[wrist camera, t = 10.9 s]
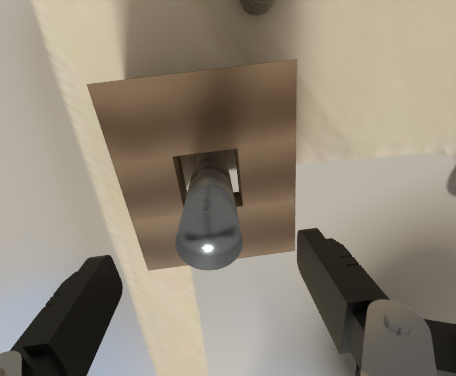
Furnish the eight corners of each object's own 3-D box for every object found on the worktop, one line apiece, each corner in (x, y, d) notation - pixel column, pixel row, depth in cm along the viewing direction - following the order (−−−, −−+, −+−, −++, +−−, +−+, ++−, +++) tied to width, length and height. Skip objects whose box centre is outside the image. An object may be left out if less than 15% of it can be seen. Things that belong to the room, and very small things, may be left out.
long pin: (194, 146, 24) (168, 219, 10) (224, 142, 24) (239, 210, 10) (199, 174, 25) (182, 273, 11) (227, 170, 25) (245, 265, 11)
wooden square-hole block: (124, 87, 21) (86, 84, 15) (271, 69, 21) (296, 59, 15) (163, 228, 27) (148, 270, 21) (275, 214, 28) (294, 250, 21)
